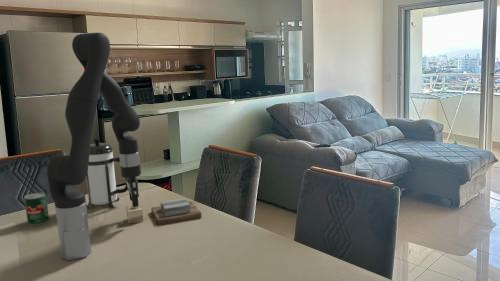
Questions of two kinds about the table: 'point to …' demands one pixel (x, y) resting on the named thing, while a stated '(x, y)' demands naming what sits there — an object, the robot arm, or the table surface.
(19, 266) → the table surface
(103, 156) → the coffee press
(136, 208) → the maple block
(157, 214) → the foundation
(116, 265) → the table surface
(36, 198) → the canned tomato
